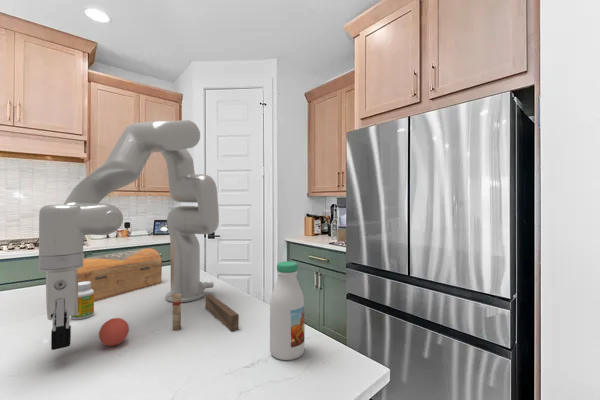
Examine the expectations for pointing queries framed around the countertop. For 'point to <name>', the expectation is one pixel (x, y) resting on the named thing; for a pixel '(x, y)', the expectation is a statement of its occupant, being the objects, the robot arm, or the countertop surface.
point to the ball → (113, 331)
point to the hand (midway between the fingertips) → (61, 346)
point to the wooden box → (121, 272)
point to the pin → (176, 311)
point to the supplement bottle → (84, 301)
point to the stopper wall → (222, 312)
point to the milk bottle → (287, 314)
